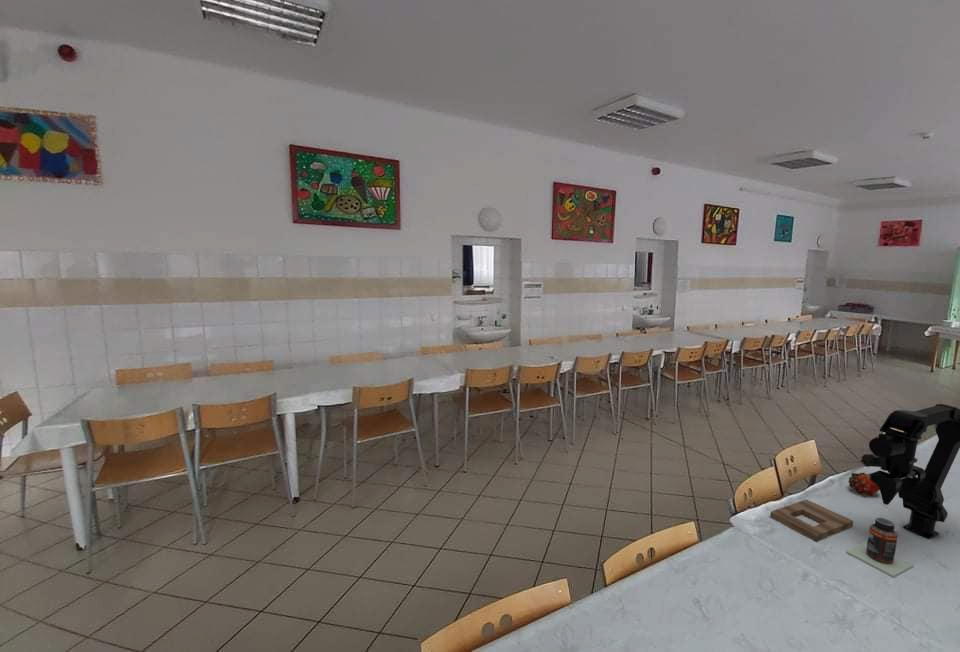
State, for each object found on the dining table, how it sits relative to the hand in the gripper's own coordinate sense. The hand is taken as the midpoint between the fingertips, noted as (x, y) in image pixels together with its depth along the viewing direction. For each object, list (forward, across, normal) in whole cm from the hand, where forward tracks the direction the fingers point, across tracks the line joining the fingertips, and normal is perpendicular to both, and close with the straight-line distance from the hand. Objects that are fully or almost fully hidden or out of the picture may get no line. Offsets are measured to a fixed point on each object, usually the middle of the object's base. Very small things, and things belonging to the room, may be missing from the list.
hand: (893, 501), depth 131 cm
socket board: (+13, +12, -15) cm, 23 cm away
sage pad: (+13, +14, +4) cm, 20 cm away
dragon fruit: (+13, -28, -18) cm, 36 cm away
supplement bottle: (+13, +14, +4) cm, 19 cm away
